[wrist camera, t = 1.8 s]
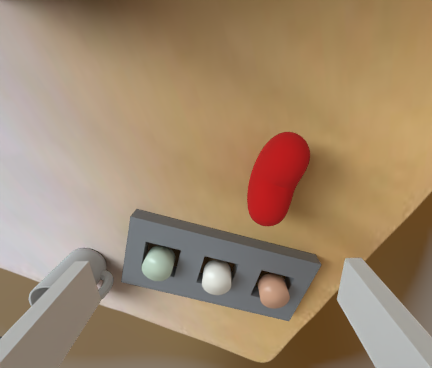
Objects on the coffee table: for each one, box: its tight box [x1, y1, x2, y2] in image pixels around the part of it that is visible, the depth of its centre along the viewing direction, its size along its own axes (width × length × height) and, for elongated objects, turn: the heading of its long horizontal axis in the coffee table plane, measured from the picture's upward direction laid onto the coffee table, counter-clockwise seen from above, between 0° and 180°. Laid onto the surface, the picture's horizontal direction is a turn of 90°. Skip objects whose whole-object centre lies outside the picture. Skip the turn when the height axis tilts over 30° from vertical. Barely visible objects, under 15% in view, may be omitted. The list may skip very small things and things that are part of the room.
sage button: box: [142, 245, 175, 281], centre depth 35 cm, size 5×5×3 cm
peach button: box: [258, 273, 290, 309], centre depth 36 cm, size 5×5×3 cm
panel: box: [121, 209, 321, 321], centre depth 38 cm, size 32×14×2 cm, turn 75°
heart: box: [247, 132, 310, 226], centre depth 27 cm, size 12×5×10 cm, turn 165°
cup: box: [29, 248, 113, 306], centre depth 36 cm, size 7×10×9 cm
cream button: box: [202, 260, 231, 295], centre depth 36 cm, size 5×5×3 cm
